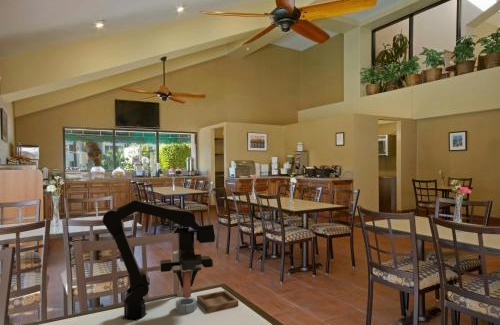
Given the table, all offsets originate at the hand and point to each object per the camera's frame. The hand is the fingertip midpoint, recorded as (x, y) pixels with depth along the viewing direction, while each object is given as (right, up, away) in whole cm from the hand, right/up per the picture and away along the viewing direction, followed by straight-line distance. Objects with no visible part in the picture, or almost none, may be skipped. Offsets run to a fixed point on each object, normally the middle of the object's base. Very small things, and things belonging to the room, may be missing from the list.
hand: (186, 286), depth 124 cm
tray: (+11, -9, +5) cm, 15 cm away
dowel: (0, -3, 0) cm, 3 cm away
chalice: (-4, -9, +14) cm, 17 cm away
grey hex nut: (0, -9, 0) cm, 9 cm away
